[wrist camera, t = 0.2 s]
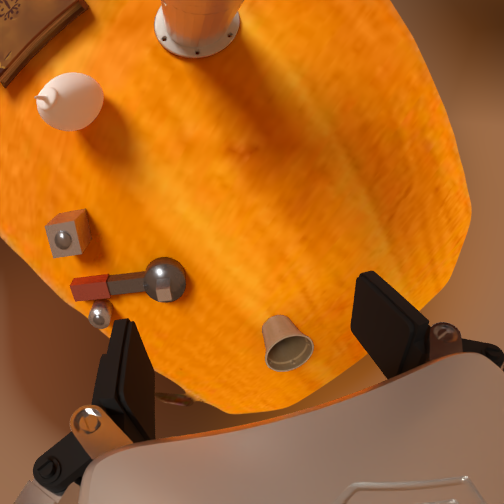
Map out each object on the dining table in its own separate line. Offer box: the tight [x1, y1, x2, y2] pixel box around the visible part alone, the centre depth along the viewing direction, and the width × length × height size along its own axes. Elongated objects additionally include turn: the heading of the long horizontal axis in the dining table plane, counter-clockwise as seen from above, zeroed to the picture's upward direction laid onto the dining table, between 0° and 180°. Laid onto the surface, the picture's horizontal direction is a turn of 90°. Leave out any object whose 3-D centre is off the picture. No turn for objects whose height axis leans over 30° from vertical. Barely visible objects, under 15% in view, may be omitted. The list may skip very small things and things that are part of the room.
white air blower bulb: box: [34, 73, 104, 131], centre depth 27 cm, size 8×8×18 cm
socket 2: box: [88, 299, 113, 329], centre depth 47 cm, size 4×4×4 cm
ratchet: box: [70, 257, 186, 302], centre depth 45 cm, size 7×20×6 cm, turn 92°
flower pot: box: [262, 315, 314, 372], centre depth 56 cm, size 9×9×9 cm
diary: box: [0, 0, 89, 88], centre depth 21 cm, size 23×19×6 cm
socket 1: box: [45, 209, 92, 258], centre depth 39 cm, size 5×5×6 cm
